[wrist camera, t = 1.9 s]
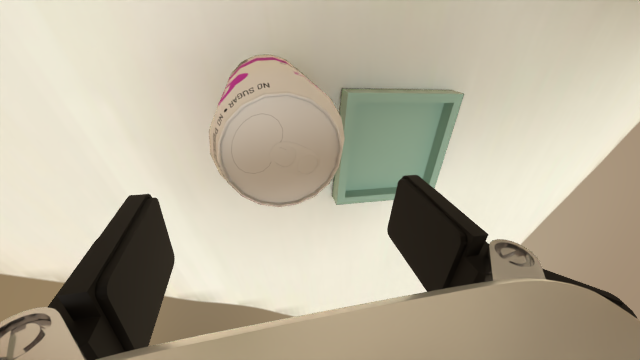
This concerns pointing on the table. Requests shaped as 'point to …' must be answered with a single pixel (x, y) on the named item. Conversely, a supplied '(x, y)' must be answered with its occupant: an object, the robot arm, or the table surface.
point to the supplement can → (275, 133)
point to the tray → (392, 140)
